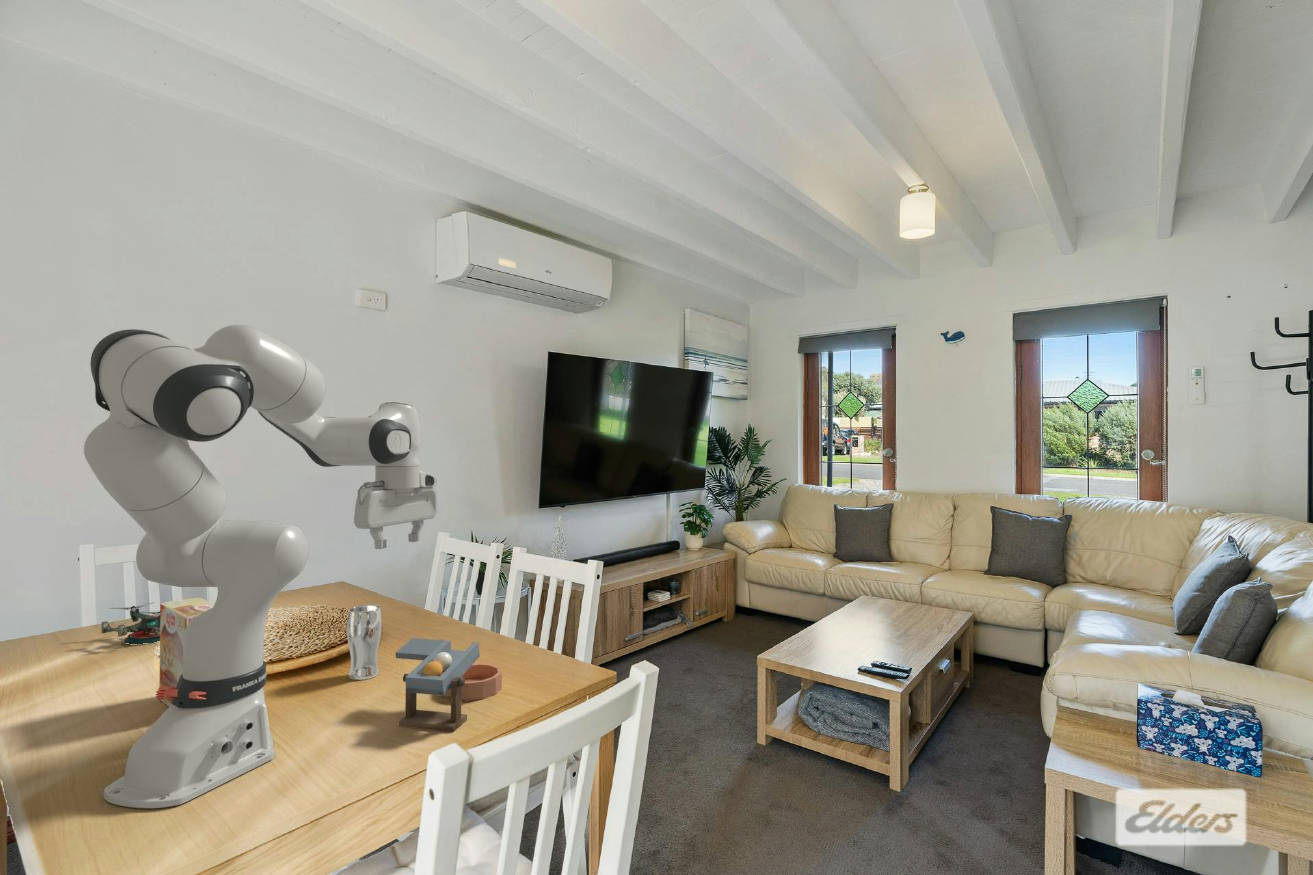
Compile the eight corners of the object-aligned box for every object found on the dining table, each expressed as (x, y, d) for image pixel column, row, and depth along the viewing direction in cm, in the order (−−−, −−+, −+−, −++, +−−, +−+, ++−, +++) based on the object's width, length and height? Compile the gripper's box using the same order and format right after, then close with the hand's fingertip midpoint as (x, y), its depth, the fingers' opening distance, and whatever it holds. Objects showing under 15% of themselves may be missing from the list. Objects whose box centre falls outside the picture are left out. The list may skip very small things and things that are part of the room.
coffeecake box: (157, 699, 124) (158, 602, 125) (199, 688, 130) (200, 596, 130) (181, 719, 115) (183, 615, 115) (225, 707, 121) (227, 607, 121)
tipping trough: (444, 695, 111) (442, 680, 111) (371, 689, 114) (369, 674, 113) (479, 656, 125) (478, 642, 124) (413, 651, 127) (412, 637, 127)
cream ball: (447, 675, 116) (445, 659, 115) (430, 674, 117) (428, 657, 116) (456, 665, 119) (454, 649, 119) (439, 664, 120) (437, 647, 119)
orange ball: (437, 685, 112) (435, 668, 112) (419, 684, 113) (418, 666, 113) (446, 675, 116) (445, 658, 115) (429, 674, 117) (428, 657, 116)
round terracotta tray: (486, 702, 124) (486, 684, 124) (436, 697, 126) (436, 680, 126) (509, 681, 135) (509, 665, 135) (462, 677, 137) (463, 661, 137)
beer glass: (386, 670, 141) (387, 604, 141) (369, 681, 134) (370, 612, 134) (358, 668, 142) (358, 603, 142) (339, 680, 135) (340, 611, 135)
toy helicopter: (199, 637, 164) (199, 605, 164) (132, 655, 150) (132, 620, 150) (153, 628, 172) (153, 598, 172) (85, 644, 158) (85, 612, 158)
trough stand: (455, 731, 111) (456, 683, 111) (396, 726, 113) (397, 678, 113) (469, 719, 116) (469, 673, 116) (412, 714, 118) (412, 669, 118)
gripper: (370, 483, 119) (370, 554, 119) (442, 477, 139) (442, 538, 138) (346, 482, 122) (345, 552, 122) (420, 476, 141) (419, 537, 141)
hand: (397, 544), depth 130 cm, fingers open, 8 cm apart
